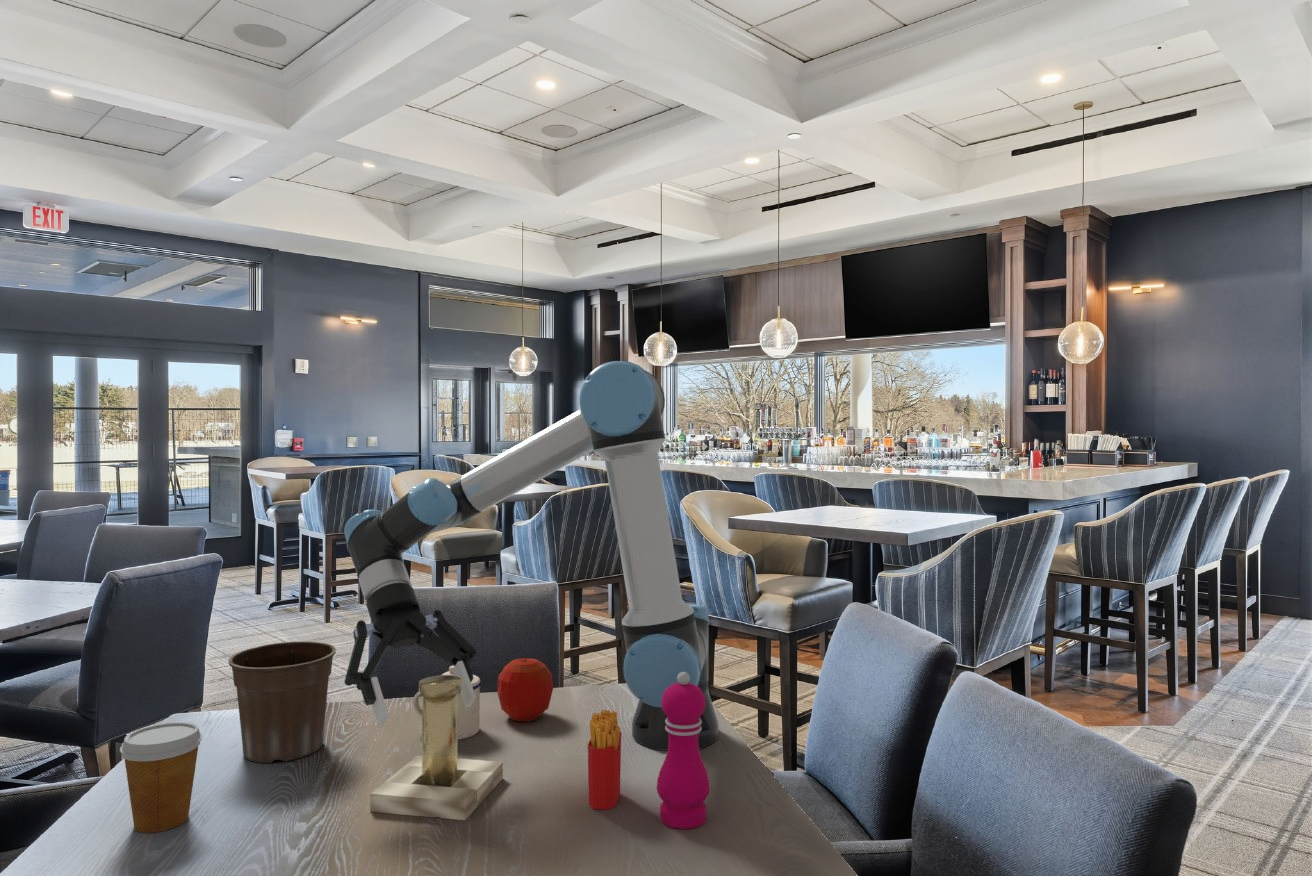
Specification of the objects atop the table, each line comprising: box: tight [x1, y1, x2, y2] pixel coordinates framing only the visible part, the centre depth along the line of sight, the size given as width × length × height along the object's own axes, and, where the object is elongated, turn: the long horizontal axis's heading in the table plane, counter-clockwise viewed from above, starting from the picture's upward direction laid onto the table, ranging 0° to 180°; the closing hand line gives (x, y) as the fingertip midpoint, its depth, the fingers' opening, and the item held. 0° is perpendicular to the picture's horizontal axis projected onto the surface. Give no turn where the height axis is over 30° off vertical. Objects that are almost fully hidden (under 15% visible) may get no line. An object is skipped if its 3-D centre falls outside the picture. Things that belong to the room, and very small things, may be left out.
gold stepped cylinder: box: [418, 674, 461, 787], centre depth 119 cm, size 6×6×16 cm
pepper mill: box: [656, 672, 711, 830], centre depth 111 cm, size 7×7×20 cm
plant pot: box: [227, 641, 337, 764], centre depth 135 cm, size 16×16×16 cm
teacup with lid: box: [412, 665, 482, 741], centre depth 144 cm, size 12×9×12 cm
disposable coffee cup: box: [119, 721, 203, 834], centre depth 110 cm, size 10×10×12 cm
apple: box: [496, 655, 554, 723], centre depth 152 cm, size 10×10×12 cm
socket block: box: [369, 755, 504, 821], centre depth 119 cm, size 14×14×2 cm
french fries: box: [587, 709, 622, 811], centre depth 117 cm, size 8×4×12 cm, turn 170°
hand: (429, 712), depth 120 cm, fingers open, 13 cm apart
